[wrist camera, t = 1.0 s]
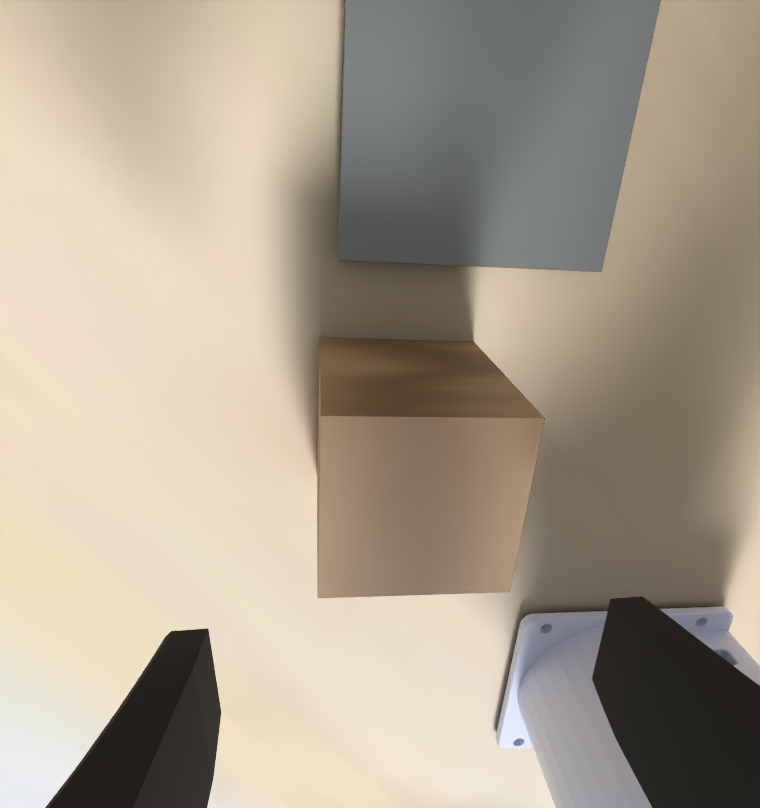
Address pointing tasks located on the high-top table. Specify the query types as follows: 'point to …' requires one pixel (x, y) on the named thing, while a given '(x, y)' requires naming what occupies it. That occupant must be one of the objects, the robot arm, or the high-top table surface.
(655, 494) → the high-top table surface
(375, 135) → the slate coaster
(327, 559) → the walnut block
